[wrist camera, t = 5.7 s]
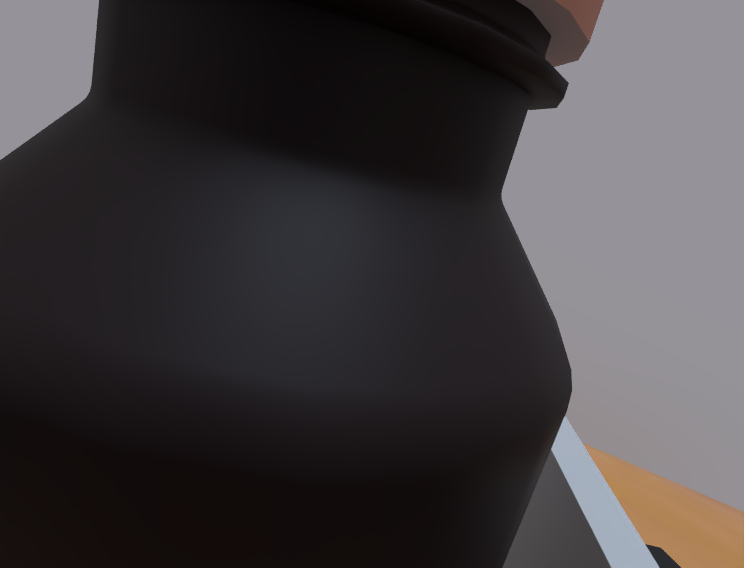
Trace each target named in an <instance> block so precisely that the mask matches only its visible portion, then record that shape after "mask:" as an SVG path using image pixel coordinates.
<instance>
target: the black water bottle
mask: <svg viewBox="0 0 744 568" xmlns="http://www.w3.org/2000/svg"><path fill="white" fill-rule="evenodd" d="M603 1H604V0H99V9H98V20H97V31H96V42H95V53H94V64H93V75H92V85H91V89H90V92H89V94H88V96H87V97H86V99H84V100H83V101H82V102H81V103H80V104H78V105H77V106H75V107H74V108H73V109H71V110H70V111H69V112H67V113H66V114H64V115H63V116H62V117H60V118H59V119H58V120H56V121H55V122H53V123H52V124H50V125H49V126H48V127H46V128H45V129H43V130H42V131H41V132H39V133H38V134H36V135H35V136H34V137H32V138H31V139H29V140H28V141H27V142H25V143H24V144H22V145H21V146H20V147H18V148H17V149H15V150H14V151H13V152H11V153H10V154H8V155H7V156H6V157H4V158H3V159H1V160H0V568H502V567H503V565H504V562H505V560H506V558H507V555H508V553H509V550H510V548H511V545H512V543H513V541H514V538H515V536H516V533H517V531H518V528H519V526H520V524H521V521H522V519H523V516H524V514H525V511H526V509H527V507H528V504H529V502H530V499H531V497H532V494H533V492H534V489H535V487H536V485H537V482H538V480H539V477H540V475H541V472H542V470H543V468H544V465H545V463H546V460H547V458H548V455H549V453H550V451H551V448H552V446H553V443H554V441H555V438H556V436H557V434H558V431H559V429H560V426H561V424H562V421H563V419H564V417H565V414H566V412H567V408H568V404H569V400H570V396H571V392H572V380H571V368H570V365H569V361H568V358H567V354H566V351H565V348H564V344H563V341H562V338H561V334H560V331H559V328H558V325H557V321H556V319H555V316H554V314H553V312H552V310H551V308H550V306H549V303H548V301H547V299H546V297H545V295H544V293H543V290H542V288H541V286H540V284H539V282H538V279H537V277H536V275H535V273H534V271H533V269H532V266H531V264H530V262H529V260H528V258H527V255H526V253H525V251H524V249H523V247H522V245H521V242H520V240H519V238H518V236H517V234H516V232H515V230H514V227H513V225H512V223H511V221H510V218H509V216H508V214H507V212H506V210H505V208H504V205H503V203H502V198H501V193H502V188H503V185H504V181H505V178H506V175H507V172H508V169H509V165H510V163H511V160H512V156H513V153H514V151H515V147H516V145H517V141H518V138H519V135H520V132H521V129H522V126H523V123H524V120H525V117H526V113H527V111H528V110H536V109H547V108H557V106H558V105H559V103H560V102H561V101H562V99H563V98H564V95H565V93H566V90H567V87H568V84H569V83H568V82H567V81H566V80H565V79H564V78H563V77H562V76H561V75H560V74H559V72H557V70H556V69H555V68H554V67H556V66H559V65H563V64H566V63H570V62H573V61H577V60H579V58H580V56H581V55H582V53H583V52H584V50H585V48H586V47H587V45H588V44H589V42H590V39H591V36H592V33H593V30H594V27H595V24H596V21H597V18H598V15H599V13H600V10H601V7H602V4H603Z"/></svg>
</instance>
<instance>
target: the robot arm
mask: <svg viewBox="0 0 744 568" xmlns="http://www.w3.org/2000/svg"><path fill="white" fill-rule="evenodd" d="M502 568H681V567H680V566H679V565H678V564H677V563H676V562H675V561H674V560H673V559H672V558H671V557H670V556H669V555H668V554H667V553H666V552H665V551H664V550H663V549H661V548H659V547H655V546H651V545H647V544H645V543H644V542H643V540H642V539H641V537H640V535H639V534H638V532H637V531H636V529H635V527H634V526H633V524H632V522H631V521H630V519H629V518H628V516H627V514H626V513H625V511H624V510H623V508H622V506H621V505H620V503H619V502H618V500H617V498H616V497H615V495H614V494H613V492H612V490H611V489H610V487H609V485H608V484H607V482H606V481H605V479H604V477H603V476H602V474H601V473H600V471H599V469H598V468H597V466H596V465H595V463H594V461H593V460H592V458H591V457H590V455H589V453H588V452H587V450H586V448H585V447H584V445H583V444H582V442H581V440H580V439H579V437H578V436H577V434H576V432H575V431H574V430H573V428H572V426H571V424H570V423H569V421H568V420H567V418H566V416H565V417H564V419H563V421H562V424H561V426H560V429H559V431H558V434H557V436H556V438H555V441H554V443H553V446H552V448H551V451H550V453H549V455H548V458H547V460H546V463H545V465H544V468H543V470H542V472H541V475H540V477H539V480H538V482H537V485H536V487H535V489H534V492H533V494H532V497H531V499H530V502H529V504H528V507H527V509H526V511H525V514H524V516H523V519H522V521H521V524H520V526H519V528H518V531H517V533H516V536H515V538H514V541H513V543H512V545H511V548H510V550H509V553H508V555H507V558H506V560H505V562H504V565H503V567H502Z"/></svg>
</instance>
